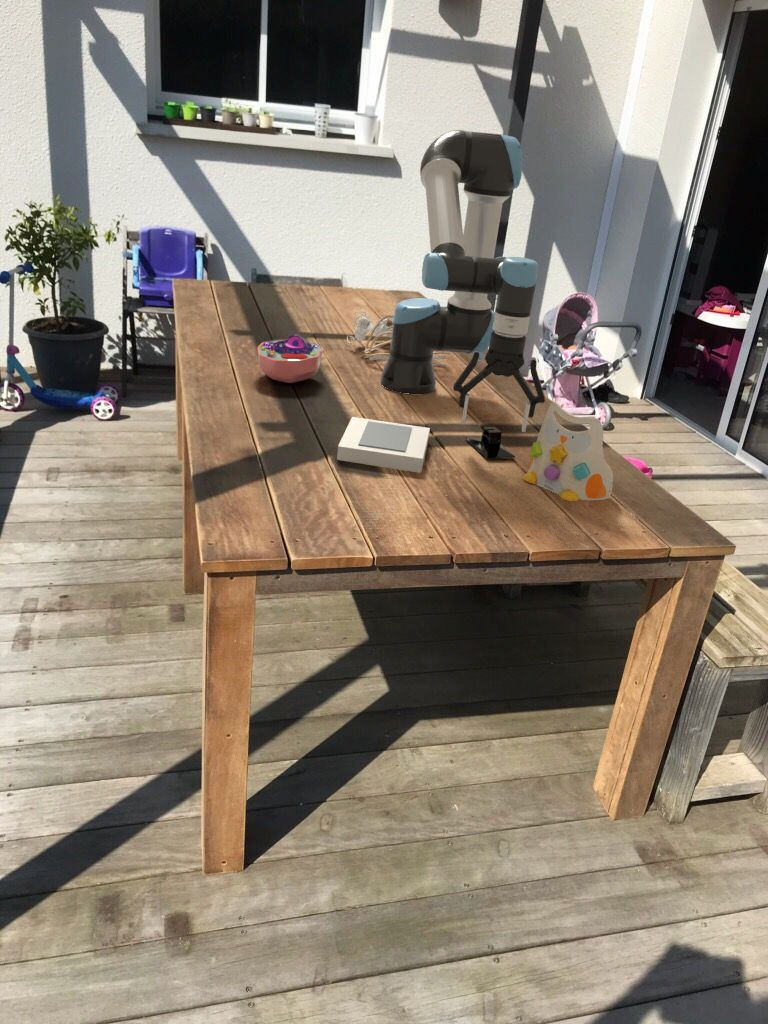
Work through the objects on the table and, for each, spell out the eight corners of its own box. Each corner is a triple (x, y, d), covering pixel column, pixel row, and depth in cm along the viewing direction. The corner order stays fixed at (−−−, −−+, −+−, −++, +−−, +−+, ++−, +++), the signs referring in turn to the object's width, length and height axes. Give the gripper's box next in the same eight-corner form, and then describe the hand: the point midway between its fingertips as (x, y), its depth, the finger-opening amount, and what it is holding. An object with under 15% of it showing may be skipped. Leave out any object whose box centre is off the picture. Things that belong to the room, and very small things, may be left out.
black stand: (465, 439, 195) (467, 420, 193) (493, 438, 198) (496, 420, 196) (487, 459, 185) (490, 439, 183) (516, 457, 187) (519, 438, 185)
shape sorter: (506, 476, 180) (521, 398, 172) (535, 465, 187) (550, 390, 179) (583, 511, 168) (602, 430, 160) (611, 498, 175) (631, 420, 167)
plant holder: (371, 387, 236) (379, 334, 227) (334, 334, 262) (339, 285, 253) (459, 382, 246) (470, 332, 237) (415, 332, 272) (423, 285, 262)
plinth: (350, 433, 192) (352, 415, 190) (427, 444, 191) (430, 426, 189) (336, 463, 176) (338, 444, 174) (420, 476, 175) (423, 457, 173)
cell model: (239, 380, 216) (241, 338, 211) (283, 364, 233) (285, 324, 227) (294, 396, 210) (297, 353, 205) (335, 378, 226) (338, 337, 221)
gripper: (450, 329, 176) (437, 423, 185) (568, 345, 174) (549, 439, 184) (452, 321, 183) (439, 412, 192) (566, 336, 181) (547, 427, 190)
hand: (493, 425), depth 188 cm, fingers open, 13 cm apart
